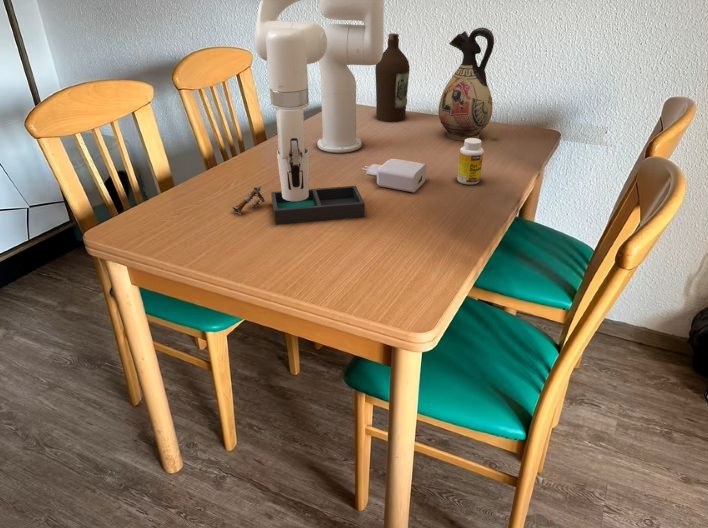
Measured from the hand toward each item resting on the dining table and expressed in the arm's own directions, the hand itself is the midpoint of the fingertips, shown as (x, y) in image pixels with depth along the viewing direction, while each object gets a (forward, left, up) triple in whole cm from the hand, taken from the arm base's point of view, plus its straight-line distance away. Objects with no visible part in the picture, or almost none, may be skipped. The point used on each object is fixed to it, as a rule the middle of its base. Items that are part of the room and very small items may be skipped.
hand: (294, 183), depth 123 cm
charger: (-13, +25, -7) cm, 29 cm away
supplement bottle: (-10, +44, -7) cm, 45 cm away
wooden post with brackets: (-4, -10, -7) cm, 13 cm away
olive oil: (-66, +38, -7) cm, 76 cm away
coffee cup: (0, 0, -3) cm, 3 cm away
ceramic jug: (-43, +55, -7) cm, 70 cm away
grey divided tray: (0, +5, -7) cm, 8 cm away
